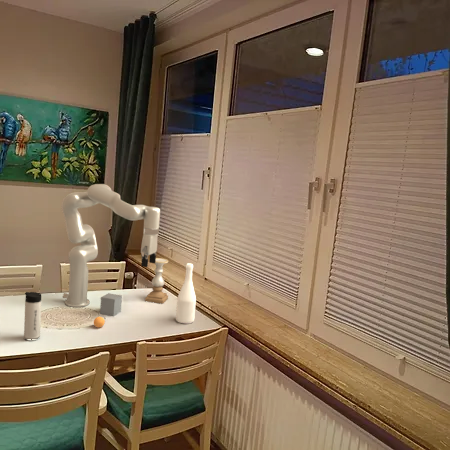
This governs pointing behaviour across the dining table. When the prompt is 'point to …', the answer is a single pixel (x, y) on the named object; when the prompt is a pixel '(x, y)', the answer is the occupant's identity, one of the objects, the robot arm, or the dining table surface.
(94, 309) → the dining table surface
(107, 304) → the matte gray cube
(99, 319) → the ball
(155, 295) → the candle holder
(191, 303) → the wine bottle
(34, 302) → the travel mug
